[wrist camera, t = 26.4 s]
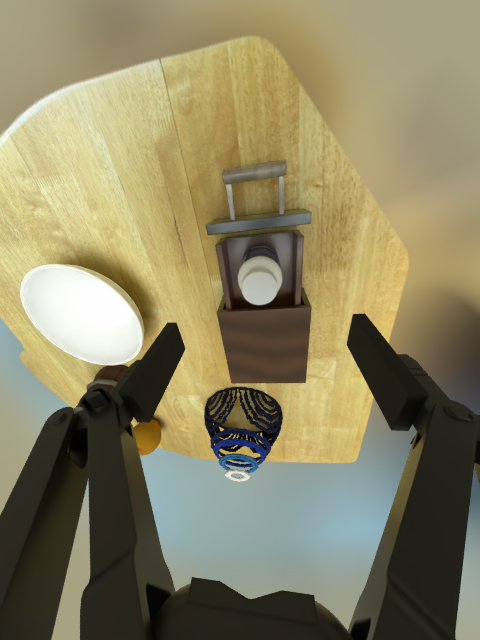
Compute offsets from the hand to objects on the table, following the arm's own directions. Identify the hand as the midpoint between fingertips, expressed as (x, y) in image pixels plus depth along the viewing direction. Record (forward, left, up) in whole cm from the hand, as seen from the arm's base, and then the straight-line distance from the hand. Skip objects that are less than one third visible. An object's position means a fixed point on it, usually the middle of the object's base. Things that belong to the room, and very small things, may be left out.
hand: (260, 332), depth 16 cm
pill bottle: (0, 0, -18) cm, 18 cm away
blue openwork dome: (+21, +35, -20) cm, 45 cm away
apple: (+49, +30, -20) cm, 61 cm away
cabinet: (+5, +12, -20) cm, 24 cm away
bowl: (+30, -5, -20) cm, 36 cm away
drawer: (0, -2, -19) cm, 19 cm away
